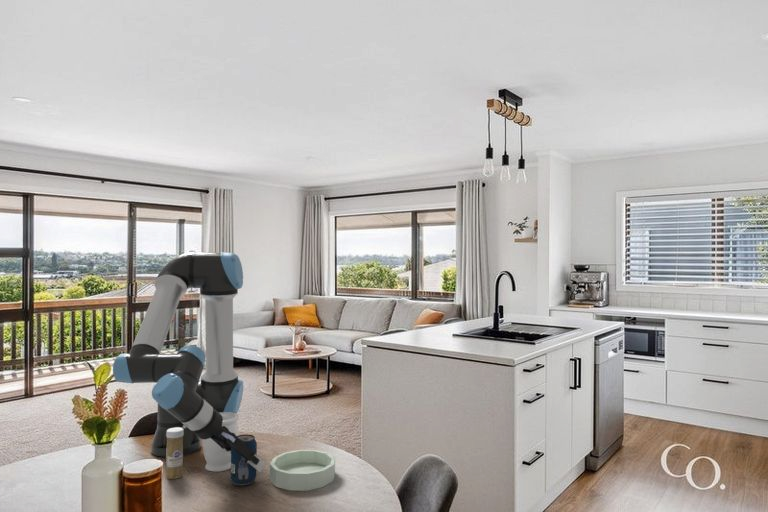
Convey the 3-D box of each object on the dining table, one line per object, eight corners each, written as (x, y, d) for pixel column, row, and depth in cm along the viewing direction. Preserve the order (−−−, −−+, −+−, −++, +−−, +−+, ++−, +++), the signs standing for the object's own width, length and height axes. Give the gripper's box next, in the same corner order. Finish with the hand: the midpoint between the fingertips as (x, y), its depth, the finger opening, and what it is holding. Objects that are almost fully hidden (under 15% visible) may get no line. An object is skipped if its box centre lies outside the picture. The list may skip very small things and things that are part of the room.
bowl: (262, 471, 152) (262, 456, 152) (319, 460, 161) (319, 446, 161) (283, 495, 136) (283, 478, 137) (345, 482, 146) (345, 465, 146)
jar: (226, 475, 149) (227, 423, 150) (194, 472, 151) (195, 420, 152) (244, 461, 160) (244, 412, 160) (213, 458, 162) (214, 410, 162)
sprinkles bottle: (171, 481, 145) (172, 432, 145) (162, 477, 148) (163, 429, 148) (186, 475, 149) (186, 428, 149) (177, 471, 151) (177, 425, 151)
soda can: (248, 473, 149) (248, 431, 149) (261, 481, 144) (261, 437, 144) (225, 480, 144) (226, 437, 144) (238, 488, 139) (239, 443, 139)
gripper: (174, 423, 139) (226, 466, 151) (213, 441, 126) (267, 486, 138) (192, 399, 143) (242, 443, 155) (232, 414, 130) (283, 461, 142)
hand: (254, 463), depth 147 cm, fingers closed on soda can, 7 cm apart
